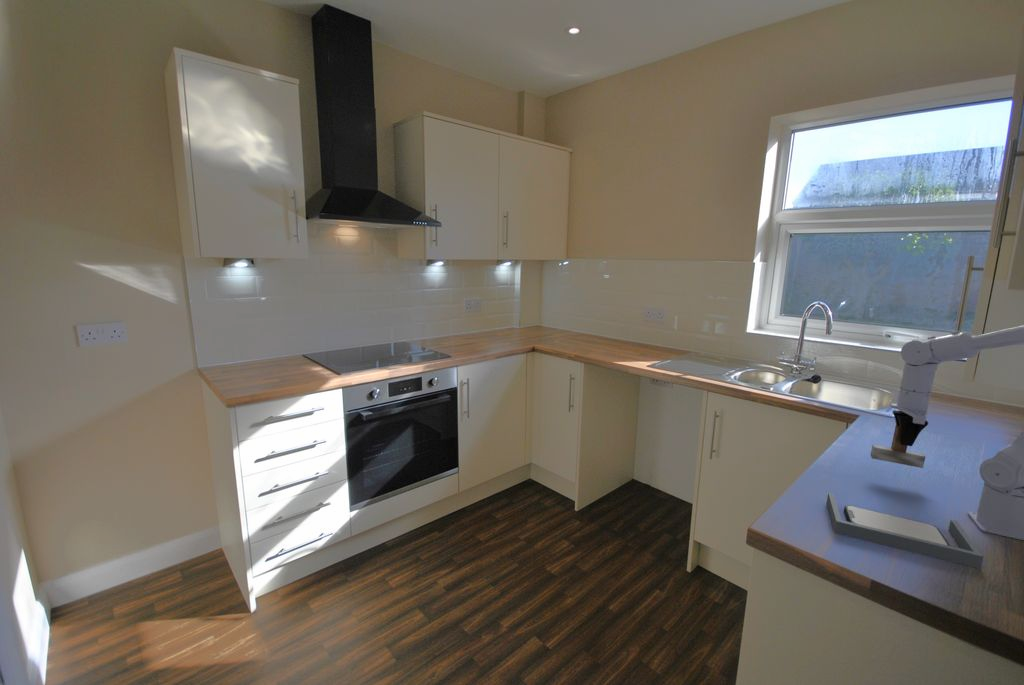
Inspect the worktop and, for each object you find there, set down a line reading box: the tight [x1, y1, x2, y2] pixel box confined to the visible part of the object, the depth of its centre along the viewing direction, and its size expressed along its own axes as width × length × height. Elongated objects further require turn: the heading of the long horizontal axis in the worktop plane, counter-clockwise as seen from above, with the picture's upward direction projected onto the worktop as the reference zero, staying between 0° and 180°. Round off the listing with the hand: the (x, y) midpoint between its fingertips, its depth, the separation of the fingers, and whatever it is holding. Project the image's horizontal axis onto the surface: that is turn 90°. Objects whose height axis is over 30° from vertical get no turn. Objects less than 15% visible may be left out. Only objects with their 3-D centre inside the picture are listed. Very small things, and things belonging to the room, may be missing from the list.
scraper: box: [870, 424, 926, 469], centre depth 116 cm, size 10×2×9 cm, turn 62°
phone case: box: [843, 505, 951, 546], centre depth 96 cm, size 9×2×16 cm
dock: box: [826, 492, 984, 570], centre depth 95 cm, size 22×13×2 cm, turn 62°
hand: (904, 442), depth 115 cm, fingers closed on scraper, 2 cm apart
